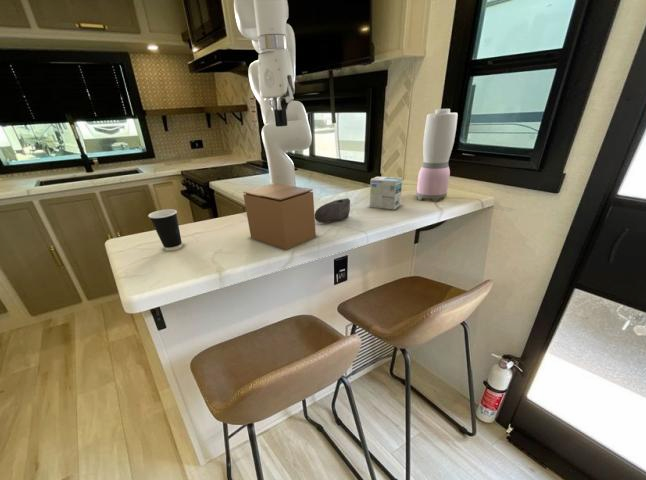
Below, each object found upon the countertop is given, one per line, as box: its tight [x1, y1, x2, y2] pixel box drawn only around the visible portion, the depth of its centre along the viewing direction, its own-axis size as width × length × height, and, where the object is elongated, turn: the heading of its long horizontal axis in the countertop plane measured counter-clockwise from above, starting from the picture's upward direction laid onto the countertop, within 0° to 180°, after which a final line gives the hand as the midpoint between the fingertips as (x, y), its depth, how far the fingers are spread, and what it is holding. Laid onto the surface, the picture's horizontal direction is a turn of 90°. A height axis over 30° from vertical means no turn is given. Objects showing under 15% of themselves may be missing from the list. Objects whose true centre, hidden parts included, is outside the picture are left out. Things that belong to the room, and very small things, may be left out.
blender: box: [415, 108, 459, 202], centre depth 124 cm, size 16×12×32 cm
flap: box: [242, 183, 292, 197], centre depth 95 cm, size 8×13×1 cm, turn 138°
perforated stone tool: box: [314, 197, 351, 224], centre depth 110 cm, size 15×5×7 cm, turn 116°
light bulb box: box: [369, 176, 403, 210], centre depth 121 cm, size 11×7×11 cm, turn 58°
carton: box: [242, 186, 317, 251], centre depth 96 cm, size 17×13×15 cm
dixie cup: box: [147, 208, 183, 251], centre depth 95 cm, size 8×8×11 cm
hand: (281, 126), depth 91 cm, fingers closed
